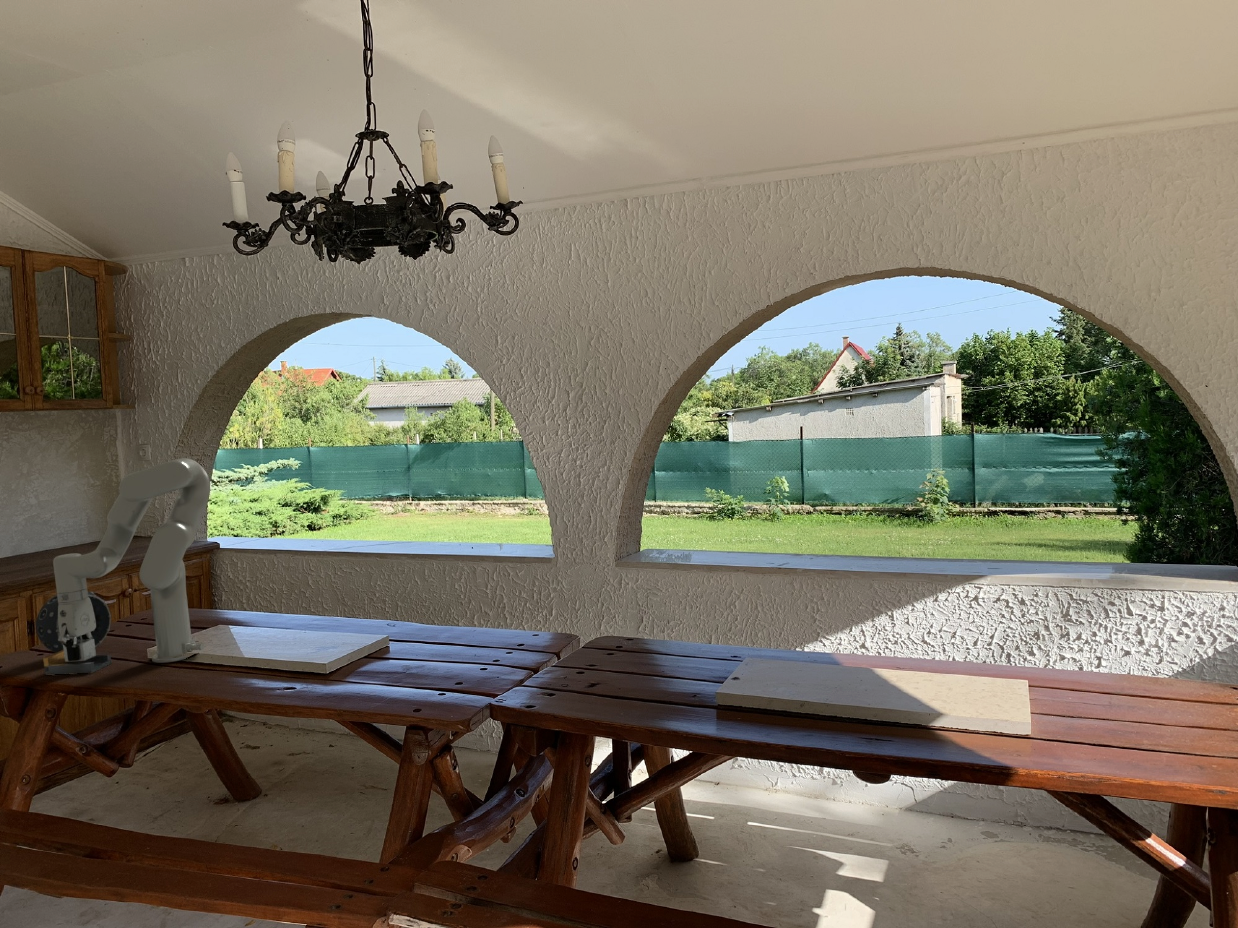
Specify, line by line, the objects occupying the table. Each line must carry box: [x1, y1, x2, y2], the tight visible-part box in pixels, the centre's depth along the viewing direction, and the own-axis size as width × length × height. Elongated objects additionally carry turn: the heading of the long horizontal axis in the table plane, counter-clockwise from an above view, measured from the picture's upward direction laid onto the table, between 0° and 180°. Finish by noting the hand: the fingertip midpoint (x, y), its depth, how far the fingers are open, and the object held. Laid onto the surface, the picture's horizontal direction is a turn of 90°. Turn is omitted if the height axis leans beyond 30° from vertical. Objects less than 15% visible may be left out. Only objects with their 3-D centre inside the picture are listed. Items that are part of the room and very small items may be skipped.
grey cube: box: [63, 639, 97, 662], centre depth 262 cm, size 7×5×5 cm
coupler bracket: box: [42, 650, 112, 675], centre depth 262 cm, size 14×9×5 cm, turn 86°
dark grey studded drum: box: [35, 591, 112, 653], centre depth 281 cm, size 11×20×20 cm, turn 155°
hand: (80, 656), depth 262 cm, fingers closed on grey cube, 5 cm apart
